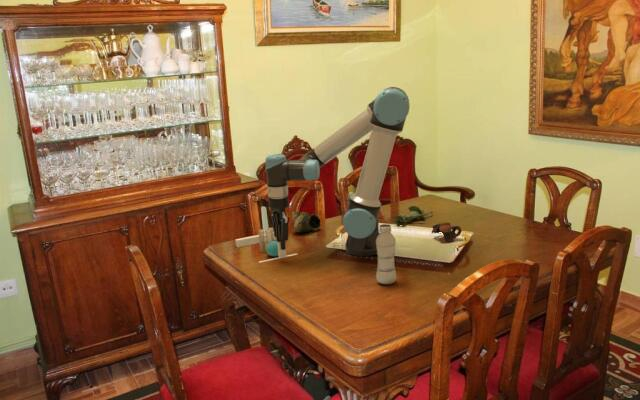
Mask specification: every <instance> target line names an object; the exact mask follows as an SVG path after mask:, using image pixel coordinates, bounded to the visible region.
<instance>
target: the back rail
mask: <svg viewBox="0 0 640 400" xmlns="http://www.w3.org/2000/svg"><path fill="white" fill-rule="evenodd" d="M273 235H274V231H273ZM264 240H265V243H266V242H267V238H266V233H264ZM274 241H277V239H276V237H275V236H274ZM234 242H235V247H236V248H243V247H246V246H251V245H252V246H253V245H257V244H260V240H259V234H257V235H251V236H246V237H242V238H235V241H234Z"/></svg>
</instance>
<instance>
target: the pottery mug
mask: <svg viewBox="0 0 640 400" xmlns="http://www.w3.org/2000/svg"><path fill="white" fill-rule="evenodd" d="M456 231H457V232H456ZM439 232H442V233H443V234H442V235H443V236H442V237H439V238H438V240H439V243H440V244H444V243H454V242H453V241H455V240H456V239H457V237H459V236H460V235H461V234H462V232H463V230H462V227H461V226H460V225H454V226H453V225H451V223H450V222H442V223H438V224H437V223H436V224H434V225H433V226H432V230H431V234H440V233H439Z"/></svg>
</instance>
